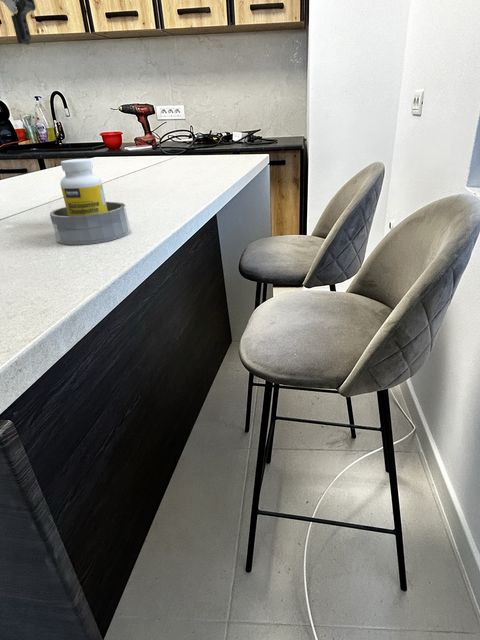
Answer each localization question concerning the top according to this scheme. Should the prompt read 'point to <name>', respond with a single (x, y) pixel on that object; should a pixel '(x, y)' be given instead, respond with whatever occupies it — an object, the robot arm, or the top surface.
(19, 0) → the robot arm
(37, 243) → the top surface
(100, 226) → the dish
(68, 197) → the pill bottle
